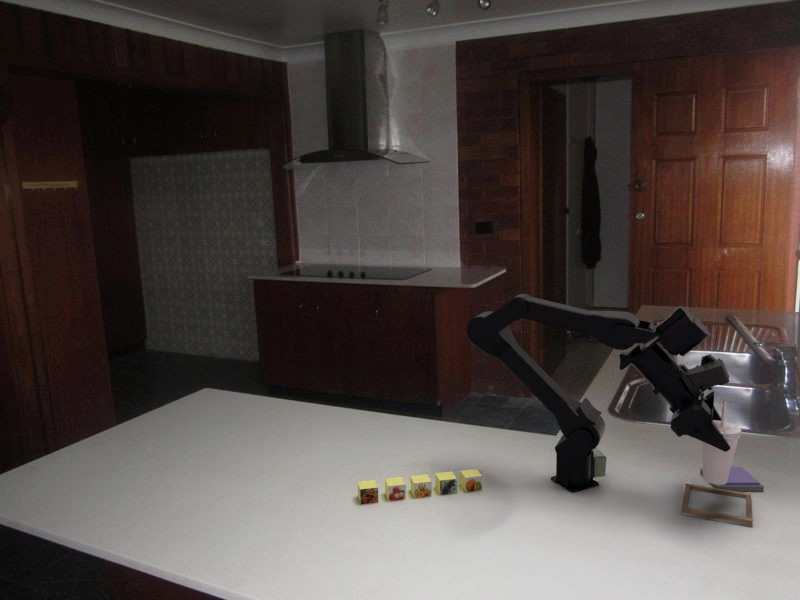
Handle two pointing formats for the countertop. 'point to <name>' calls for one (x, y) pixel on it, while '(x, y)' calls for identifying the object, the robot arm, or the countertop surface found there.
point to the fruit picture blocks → (420, 486)
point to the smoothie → (720, 452)
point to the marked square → (717, 504)
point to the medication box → (599, 462)
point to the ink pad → (739, 481)
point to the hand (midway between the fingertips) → (728, 443)
